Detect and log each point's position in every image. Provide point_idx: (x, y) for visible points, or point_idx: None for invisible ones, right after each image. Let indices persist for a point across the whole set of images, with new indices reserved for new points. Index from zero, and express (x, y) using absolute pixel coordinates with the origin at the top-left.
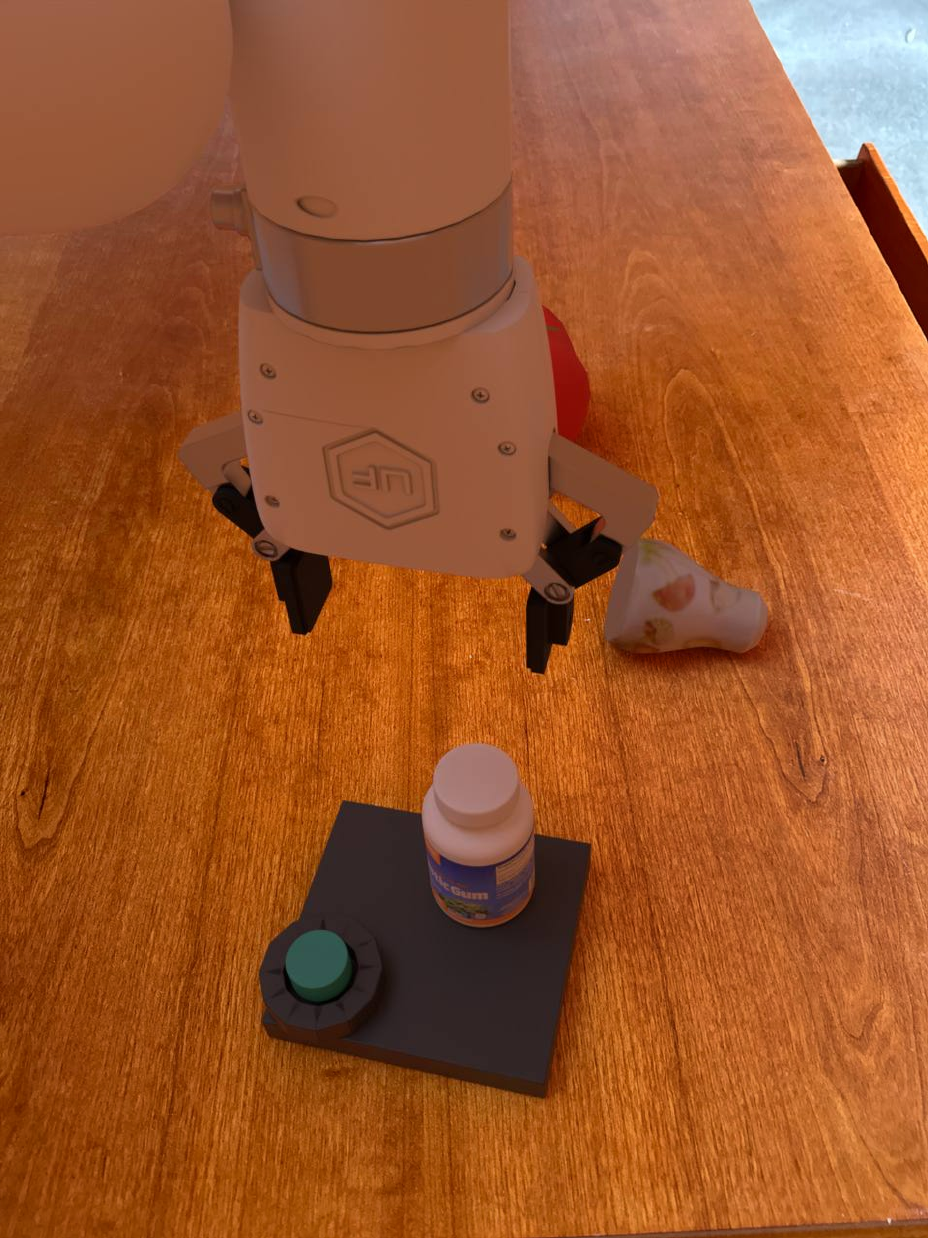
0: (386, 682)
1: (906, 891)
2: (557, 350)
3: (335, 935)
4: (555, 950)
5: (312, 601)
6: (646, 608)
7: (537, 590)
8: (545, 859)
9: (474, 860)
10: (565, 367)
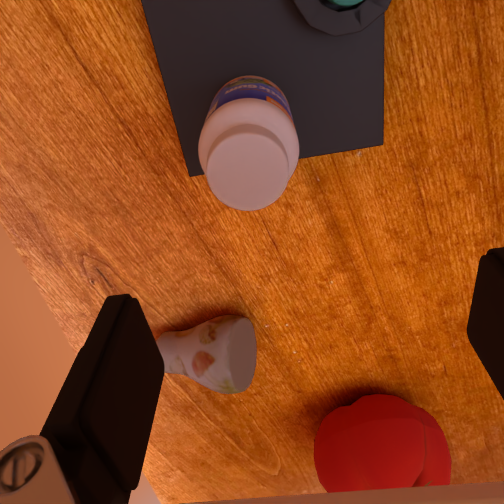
0: (383, 247)
1: (5, 217)
2: None
3: (341, 3)
4: (174, 83)
5: (499, 307)
6: (216, 348)
7: (53, 462)
8: None
9: (230, 104)
10: (331, 490)
